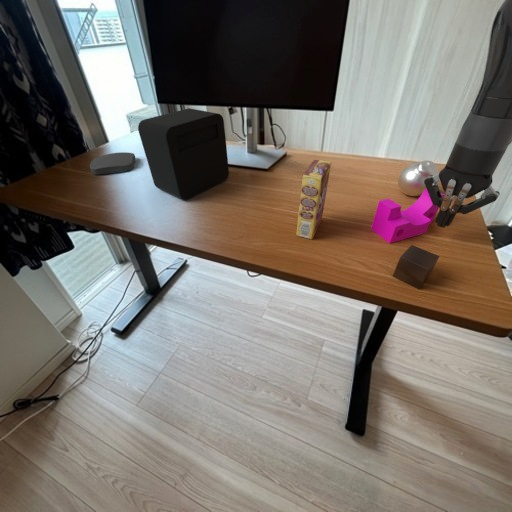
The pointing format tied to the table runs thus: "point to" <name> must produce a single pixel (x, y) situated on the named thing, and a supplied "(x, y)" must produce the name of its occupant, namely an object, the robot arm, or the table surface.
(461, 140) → the robot arm
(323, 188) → the candy box
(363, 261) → the table surface
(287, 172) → the table surface
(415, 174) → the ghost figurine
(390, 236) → the magenta curved bracket
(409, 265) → the walnut cube
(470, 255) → the table surface
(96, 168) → the media streaming box
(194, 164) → the air purifier
